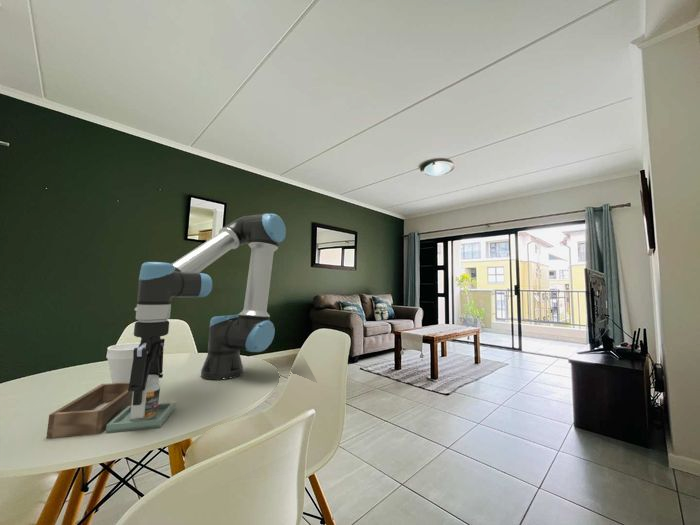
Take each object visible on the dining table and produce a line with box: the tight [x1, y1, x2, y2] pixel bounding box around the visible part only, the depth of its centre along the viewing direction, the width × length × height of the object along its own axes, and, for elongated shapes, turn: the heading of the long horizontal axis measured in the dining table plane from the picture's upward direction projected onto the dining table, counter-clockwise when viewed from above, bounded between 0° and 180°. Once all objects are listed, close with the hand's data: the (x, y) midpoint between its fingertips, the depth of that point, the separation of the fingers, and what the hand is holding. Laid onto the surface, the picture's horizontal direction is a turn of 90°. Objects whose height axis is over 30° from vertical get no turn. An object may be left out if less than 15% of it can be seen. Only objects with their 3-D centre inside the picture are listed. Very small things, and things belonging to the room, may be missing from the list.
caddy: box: [45, 382, 133, 439], centre depth 74 cm, size 10×21×5 cm, turn 16°
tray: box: [105, 402, 176, 434], centre depth 72 cm, size 11×11×2 cm
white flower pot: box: [105, 342, 140, 383], centre depth 95 cm, size 12×12×14 cm
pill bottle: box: [130, 375, 161, 421], centre depth 73 cm, size 6×6×10 cm
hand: (144, 410), depth 72 cm, fingers open, 7 cm apart
